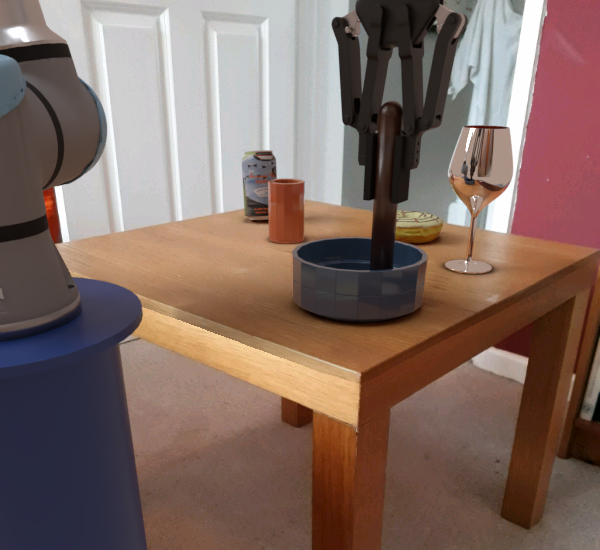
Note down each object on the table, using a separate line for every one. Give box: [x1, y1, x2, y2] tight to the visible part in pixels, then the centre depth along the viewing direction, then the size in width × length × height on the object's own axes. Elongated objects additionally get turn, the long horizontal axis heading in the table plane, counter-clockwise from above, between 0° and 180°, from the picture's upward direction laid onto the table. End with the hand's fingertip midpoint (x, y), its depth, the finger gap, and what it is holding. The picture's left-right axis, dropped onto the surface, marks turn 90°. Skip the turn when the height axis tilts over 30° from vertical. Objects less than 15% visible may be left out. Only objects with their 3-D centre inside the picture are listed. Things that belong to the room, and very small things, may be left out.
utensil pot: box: [268, 177, 306, 245], centre depth 100 cm, size 6×6×9 cm
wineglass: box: [444, 124, 514, 275], centre depth 84 cm, size 8×8×18 cm
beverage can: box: [241, 149, 278, 221], centre depth 112 cm, size 6×7×12 cm
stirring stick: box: [370, 100, 403, 270], centre depth 68 cm, size 3×3×19 cm
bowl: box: [291, 236, 429, 323], centre depth 73 cm, size 15×15×6 cm
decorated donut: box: [395, 209, 444, 244], centre depth 103 cm, size 10×11×4 cm
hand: (385, 199), depth 68 cm, fingers closed on stirring stick, 3 cm apart
